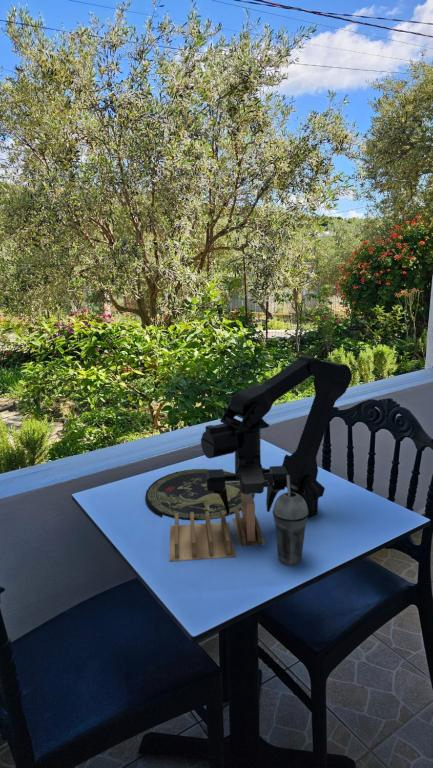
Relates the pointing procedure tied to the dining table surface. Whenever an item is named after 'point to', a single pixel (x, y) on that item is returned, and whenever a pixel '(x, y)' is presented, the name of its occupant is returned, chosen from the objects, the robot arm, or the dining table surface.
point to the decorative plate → (190, 496)
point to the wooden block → (248, 516)
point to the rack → (201, 540)
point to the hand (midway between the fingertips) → (248, 512)
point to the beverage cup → (290, 526)
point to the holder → (241, 533)
